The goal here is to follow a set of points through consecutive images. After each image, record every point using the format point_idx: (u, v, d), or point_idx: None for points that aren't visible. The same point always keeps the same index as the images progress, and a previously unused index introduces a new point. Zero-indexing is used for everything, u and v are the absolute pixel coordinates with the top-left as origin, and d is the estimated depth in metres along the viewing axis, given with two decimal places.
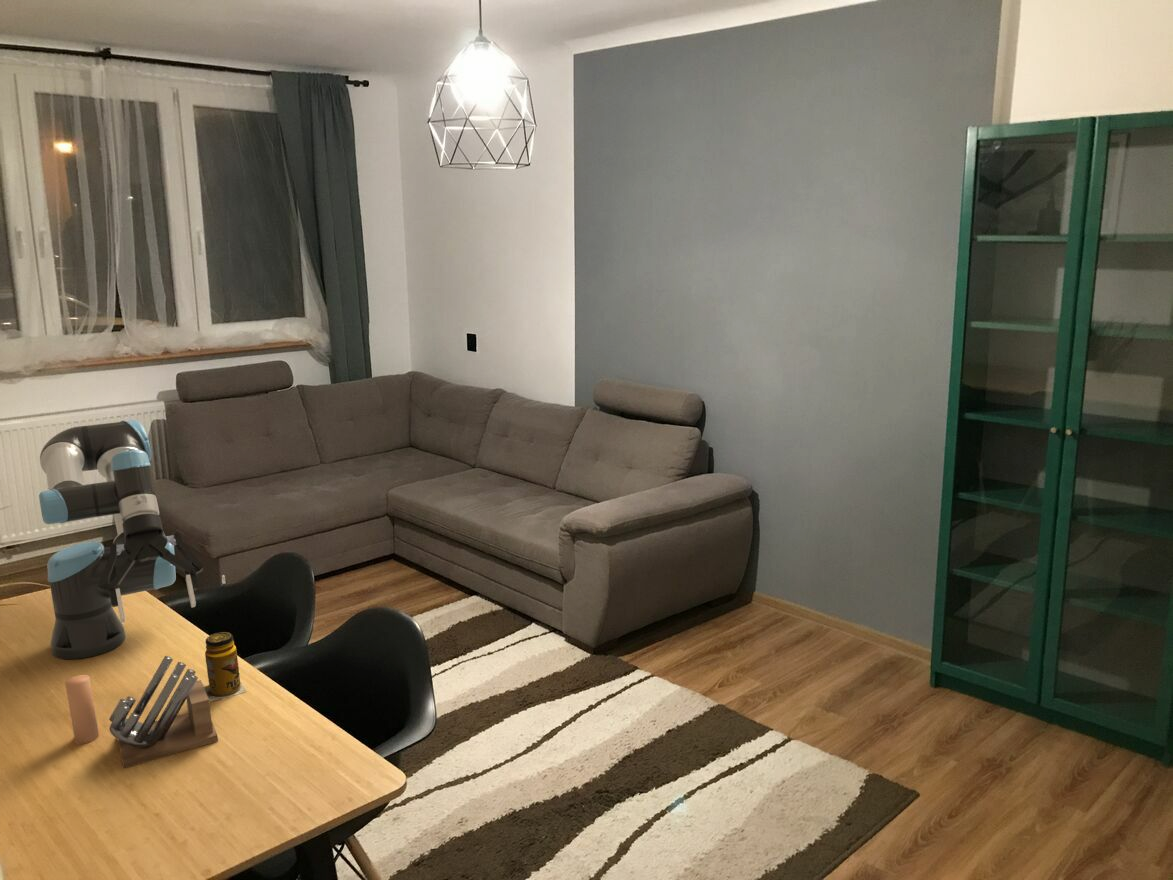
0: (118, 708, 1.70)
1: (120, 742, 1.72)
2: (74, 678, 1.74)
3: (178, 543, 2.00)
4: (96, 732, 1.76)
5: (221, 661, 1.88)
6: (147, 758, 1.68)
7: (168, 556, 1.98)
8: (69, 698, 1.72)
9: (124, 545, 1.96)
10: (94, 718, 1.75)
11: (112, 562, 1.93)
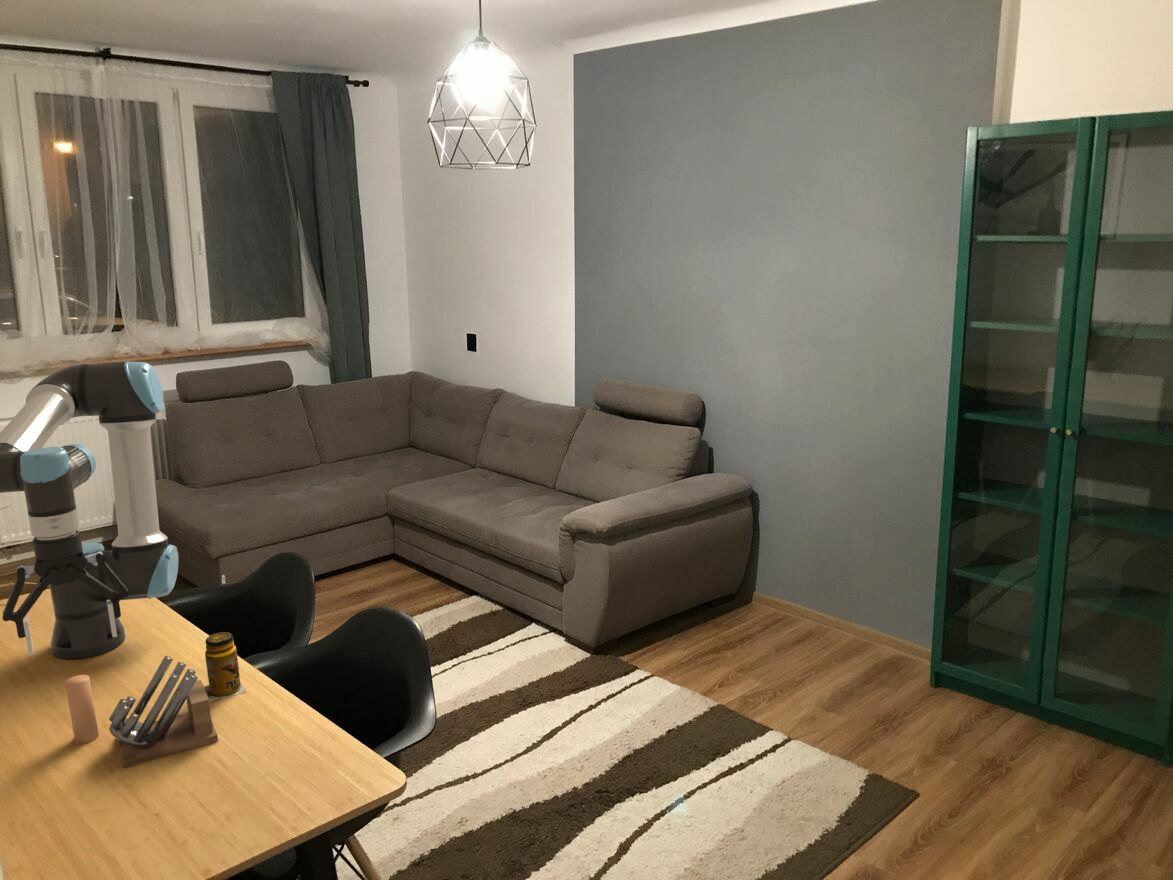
0: (118, 708, 1.70)
1: (120, 742, 1.72)
2: (74, 678, 1.74)
3: (100, 567, 1.71)
4: (96, 732, 1.76)
5: (221, 661, 1.88)
6: (147, 758, 1.68)
7: (87, 583, 1.70)
8: (69, 698, 1.72)
9: (34, 569, 1.66)
10: (94, 718, 1.75)
11: (19, 590, 1.65)
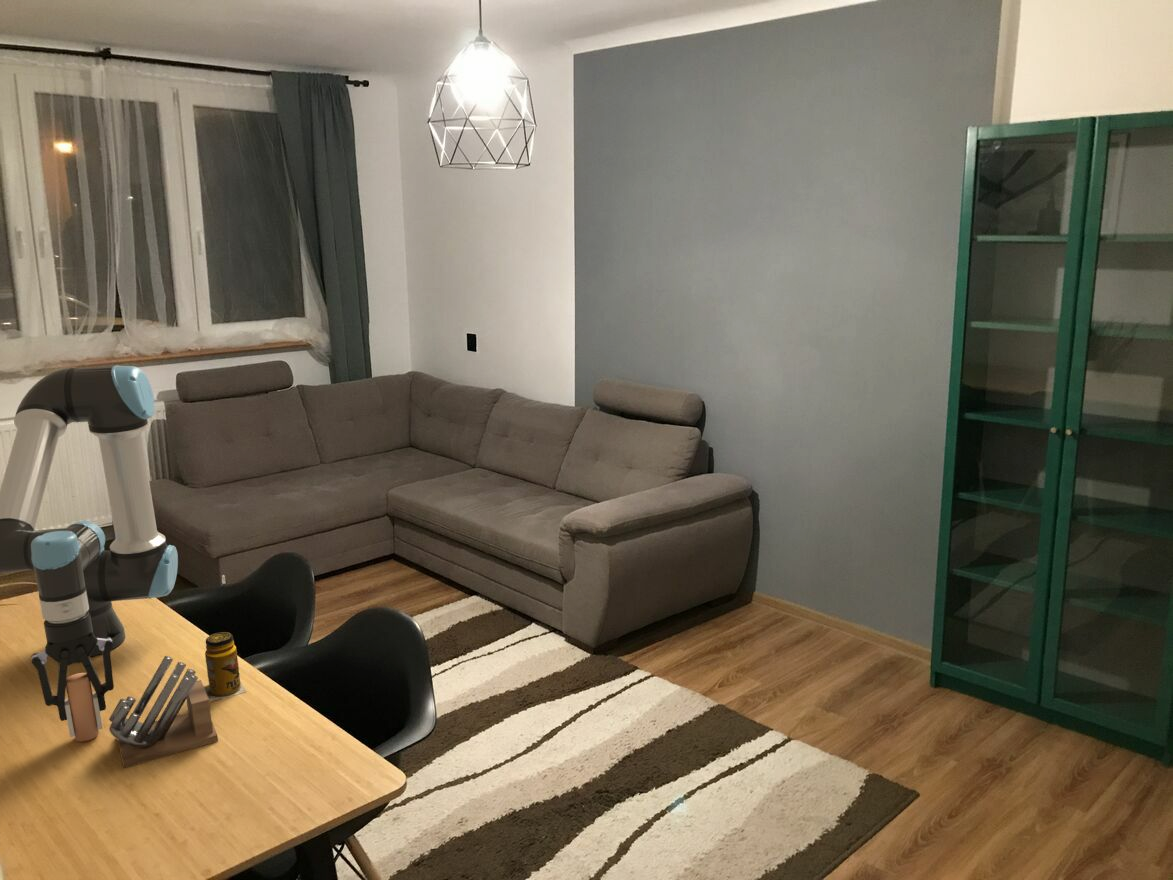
0: (118, 708, 1.70)
1: (120, 742, 1.72)
2: (74, 676, 1.74)
3: (104, 654, 1.74)
4: (96, 730, 1.76)
5: (221, 661, 1.88)
6: (147, 758, 1.68)
7: (86, 668, 1.73)
8: (69, 696, 1.72)
9: (46, 653, 1.69)
10: (94, 716, 1.75)
11: (45, 676, 1.69)
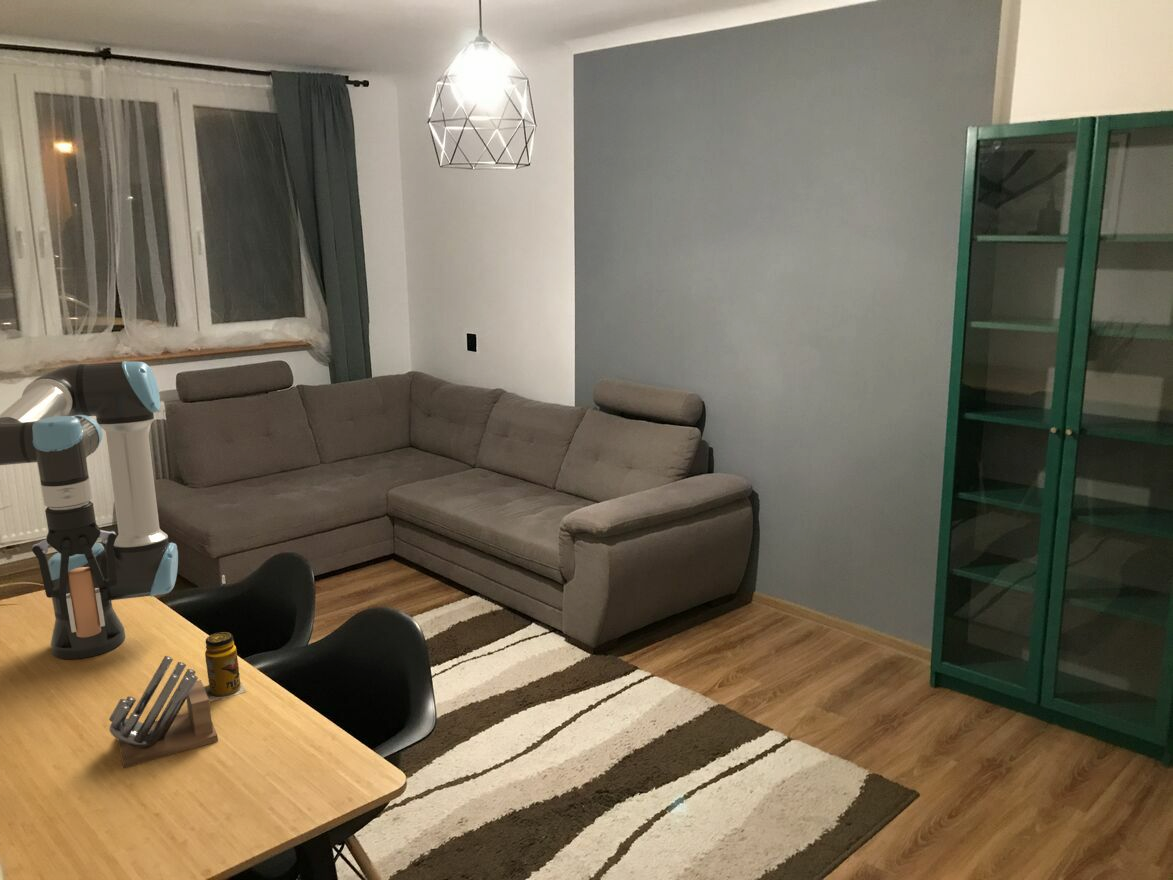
0: (118, 708, 1.70)
1: (120, 742, 1.72)
2: (76, 569, 1.68)
3: (107, 546, 1.68)
4: (98, 627, 1.70)
5: (221, 661, 1.88)
6: (147, 758, 1.68)
7: (89, 560, 1.67)
8: (70, 589, 1.66)
9: (47, 542, 1.64)
10: (96, 612, 1.69)
11: (46, 566, 1.64)
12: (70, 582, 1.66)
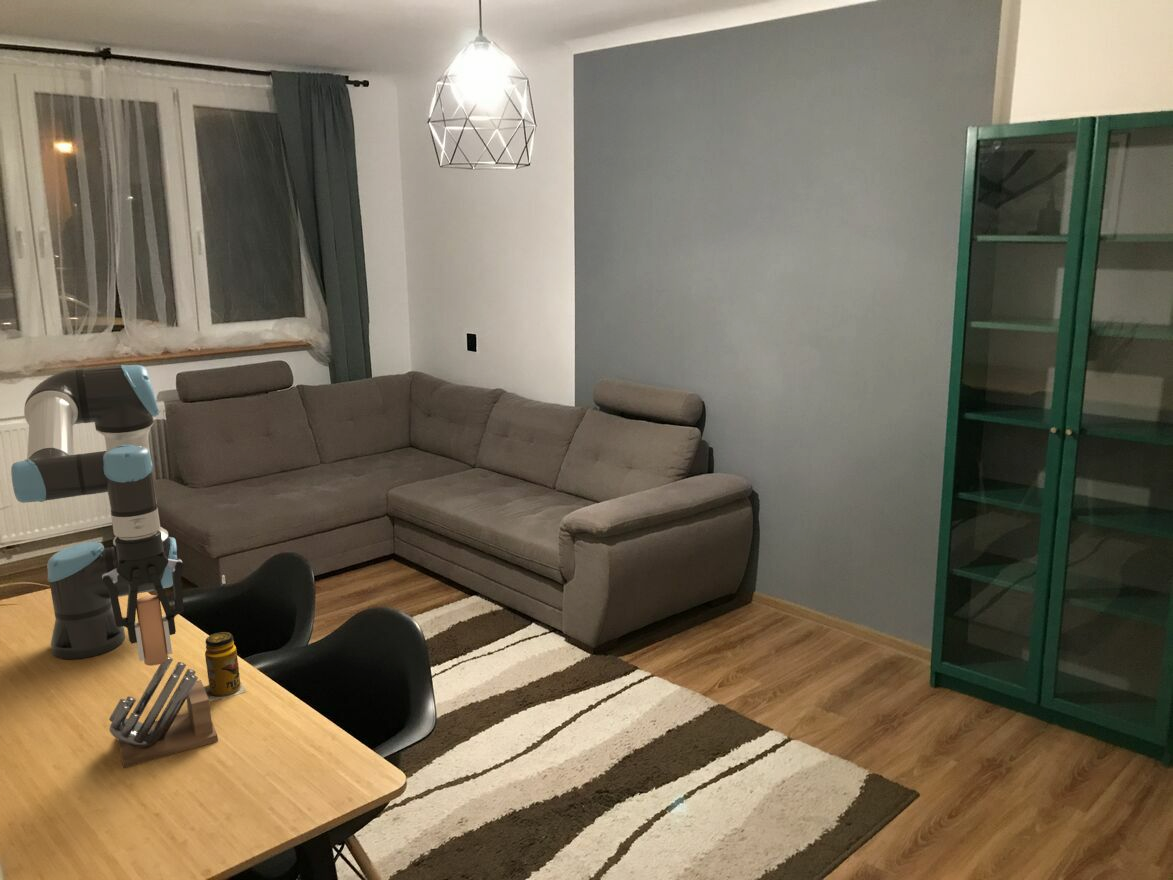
0: (118, 708, 1.70)
1: (120, 742, 1.72)
2: (144, 598, 1.69)
3: (175, 575, 1.69)
4: (166, 654, 1.71)
5: (221, 661, 1.88)
6: (147, 758, 1.68)
7: (157, 589, 1.68)
8: (139, 618, 1.67)
9: (117, 571, 1.64)
10: (164, 640, 1.70)
11: (116, 596, 1.64)
12: (139, 611, 1.67)
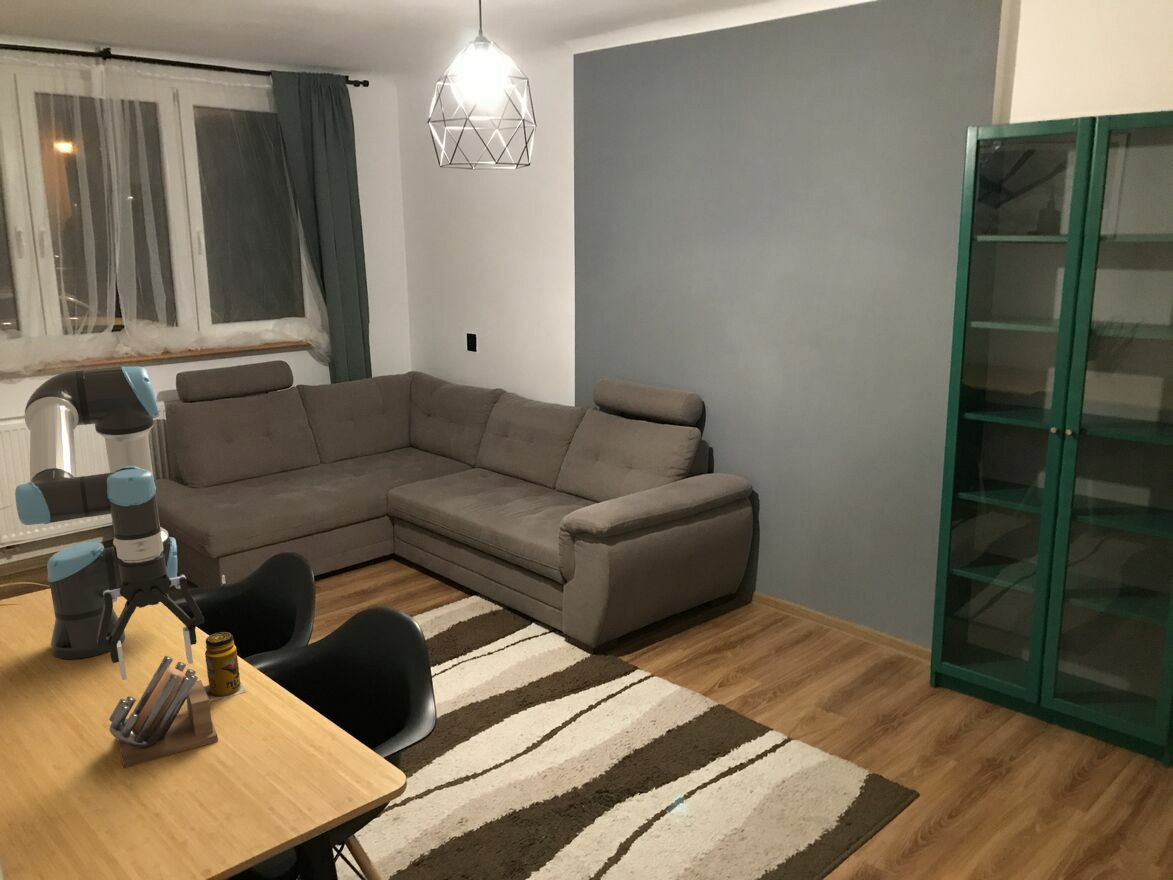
0: (118, 708, 1.70)
1: (120, 742, 1.72)
2: (174, 670, 1.74)
3: (182, 591, 1.70)
4: None
5: (221, 661, 1.88)
6: (147, 758, 1.68)
7: (168, 607, 1.69)
8: (160, 686, 1.72)
9: (120, 592, 1.65)
10: None
11: (109, 615, 1.64)
12: (165, 680, 1.72)
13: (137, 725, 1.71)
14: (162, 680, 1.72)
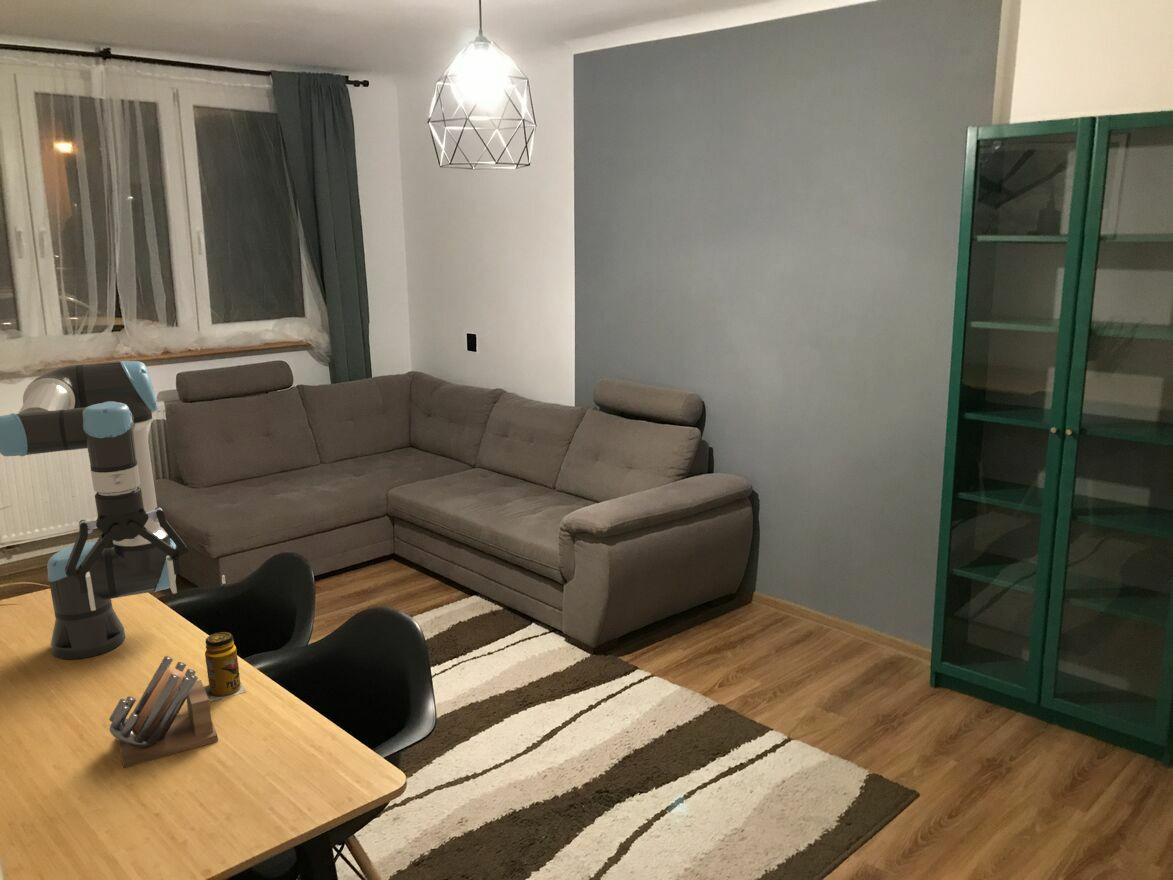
0: (118, 708, 1.70)
1: (120, 742, 1.72)
2: (174, 670, 1.74)
3: (161, 523, 1.70)
4: None
5: (221, 661, 1.88)
6: (147, 758, 1.68)
7: (148, 539, 1.70)
8: (160, 686, 1.72)
9: (97, 524, 1.65)
10: None
11: (82, 546, 1.64)
12: (165, 680, 1.72)
13: (137, 725, 1.71)
14: (162, 680, 1.72)
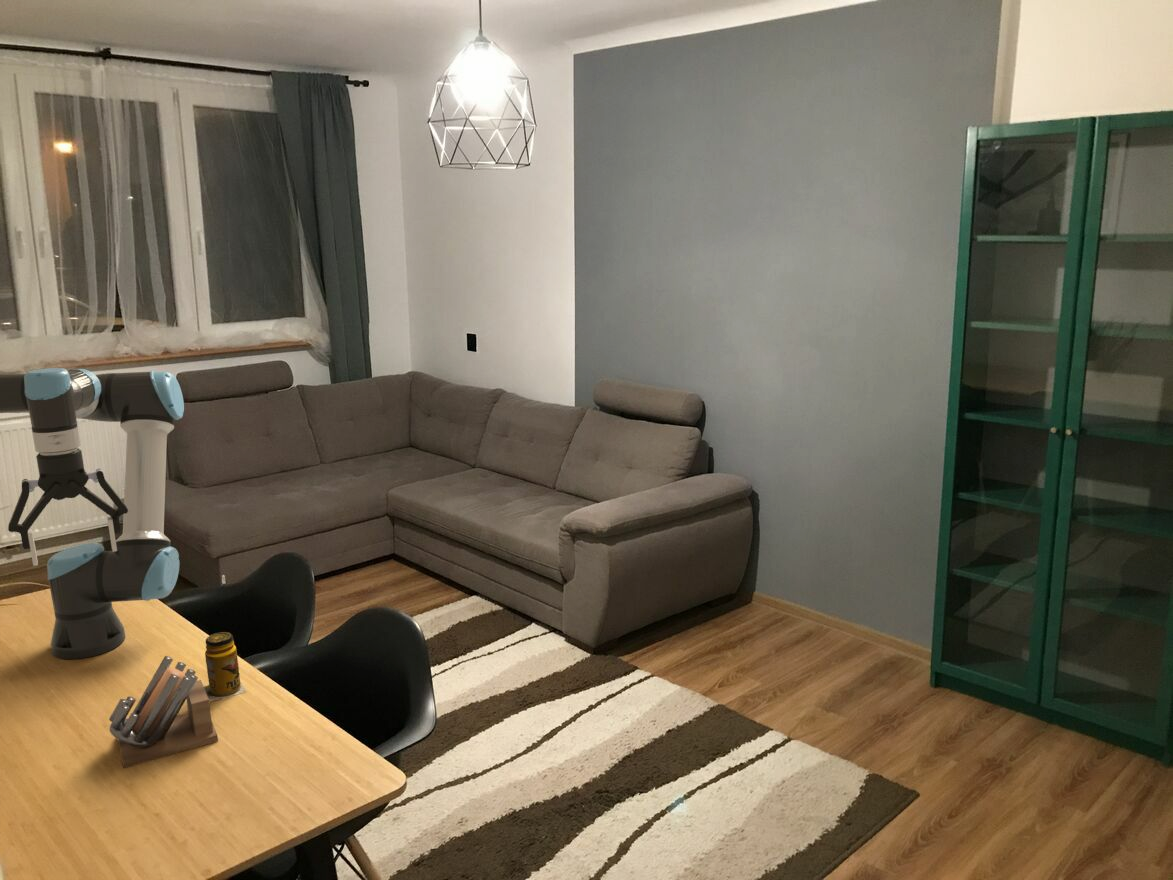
0: (118, 708, 1.70)
1: (120, 742, 1.72)
2: (174, 670, 1.74)
3: (101, 484, 1.80)
4: None
5: (221, 661, 1.88)
6: (147, 758, 1.68)
7: (89, 498, 1.79)
8: (160, 686, 1.72)
9: (38, 483, 1.75)
10: None
11: (24, 503, 1.74)
12: (165, 680, 1.72)
13: (137, 725, 1.71)
14: (162, 680, 1.72)
